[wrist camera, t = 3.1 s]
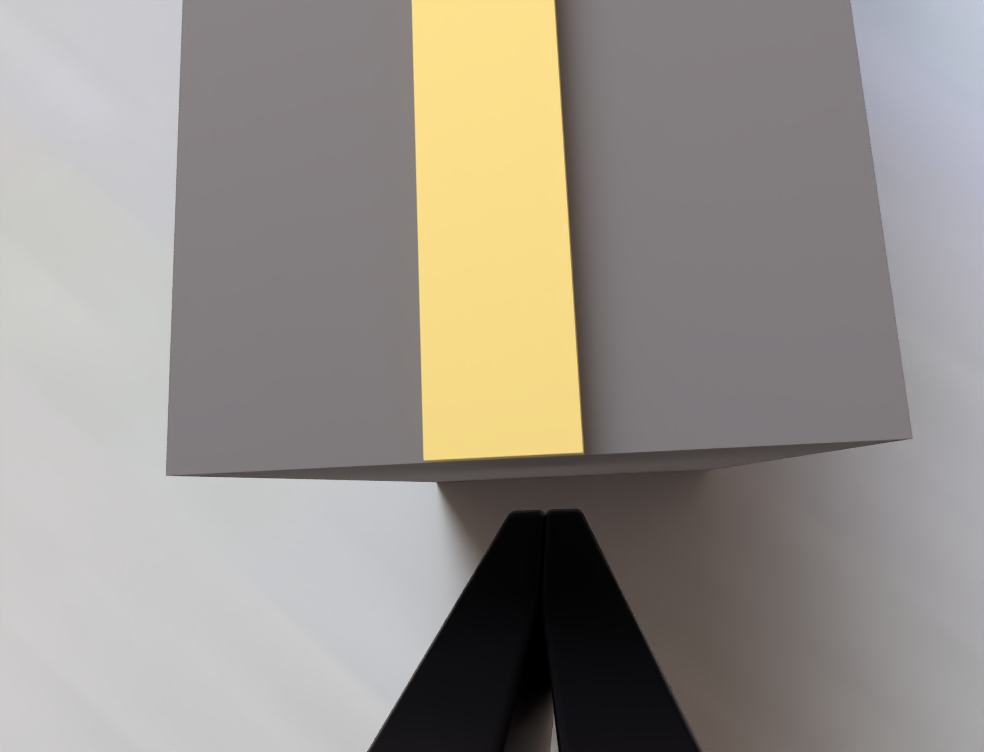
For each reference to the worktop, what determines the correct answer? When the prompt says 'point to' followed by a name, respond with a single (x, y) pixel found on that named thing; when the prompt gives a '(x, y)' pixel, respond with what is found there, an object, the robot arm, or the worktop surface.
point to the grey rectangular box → (524, 240)
